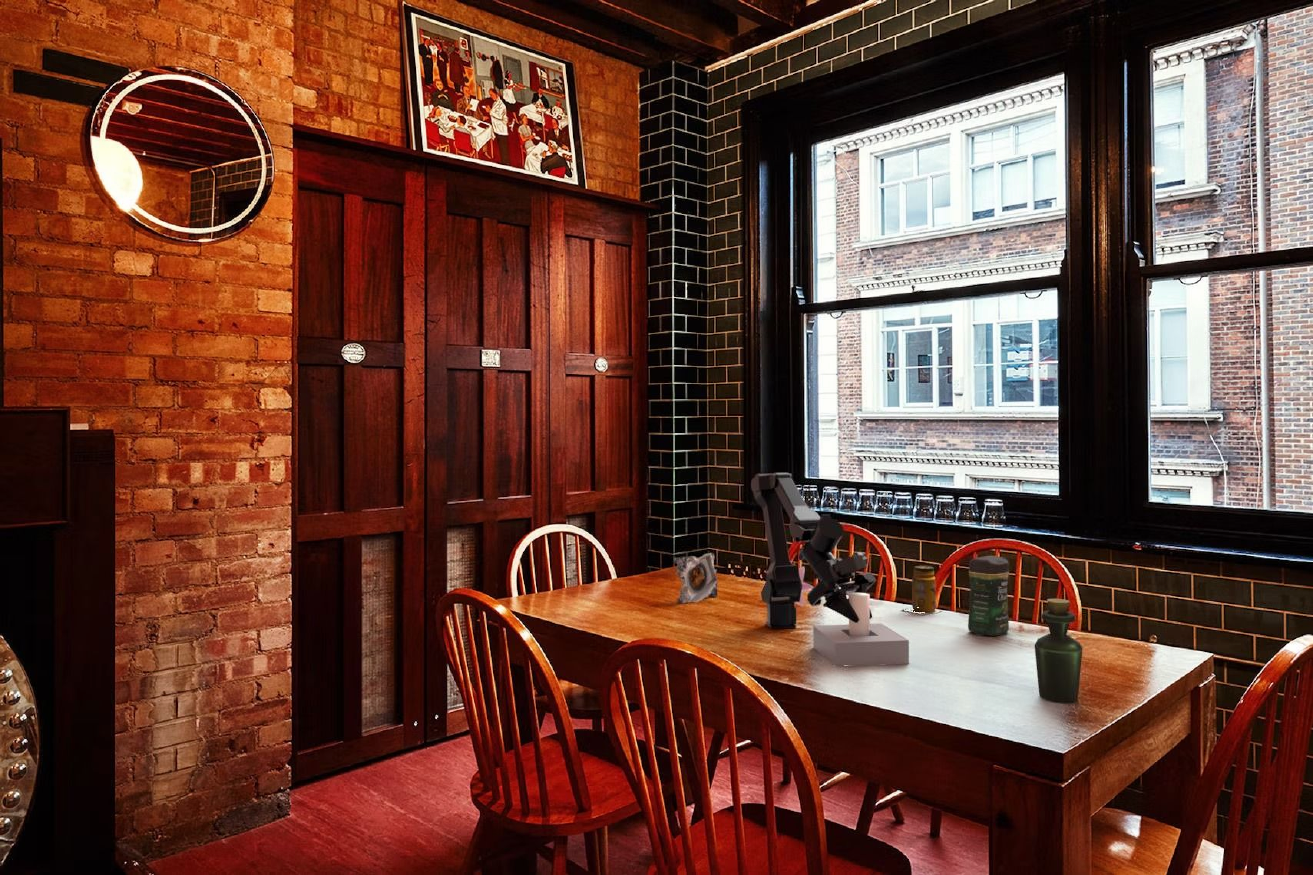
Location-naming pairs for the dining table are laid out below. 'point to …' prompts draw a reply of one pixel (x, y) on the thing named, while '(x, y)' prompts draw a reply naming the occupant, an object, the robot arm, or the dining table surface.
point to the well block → (860, 645)
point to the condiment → (923, 590)
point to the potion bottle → (1058, 656)
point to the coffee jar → (988, 596)
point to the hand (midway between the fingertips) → (864, 619)
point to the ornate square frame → (696, 577)
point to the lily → (803, 586)
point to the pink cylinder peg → (860, 614)
